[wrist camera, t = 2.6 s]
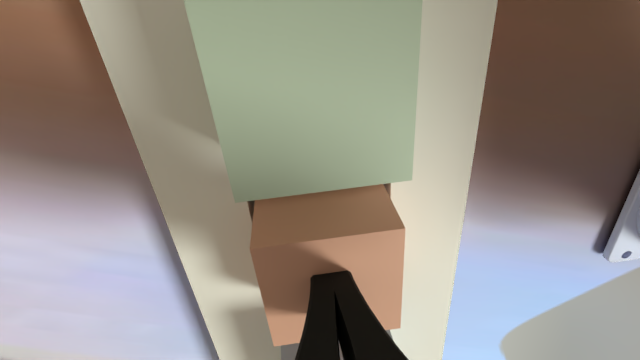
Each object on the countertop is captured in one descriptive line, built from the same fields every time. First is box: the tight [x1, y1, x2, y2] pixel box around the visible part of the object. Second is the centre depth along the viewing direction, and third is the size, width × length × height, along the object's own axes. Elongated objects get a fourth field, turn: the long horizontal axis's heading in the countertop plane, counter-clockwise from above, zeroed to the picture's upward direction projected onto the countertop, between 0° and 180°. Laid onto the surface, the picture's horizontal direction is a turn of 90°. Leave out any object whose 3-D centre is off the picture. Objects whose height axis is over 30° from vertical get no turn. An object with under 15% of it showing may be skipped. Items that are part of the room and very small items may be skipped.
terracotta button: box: [250, 184, 406, 347], centre depth 14 cm, size 5×5×3 cm
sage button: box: [184, 0, 423, 203], centre depth 10 cm, size 5×5×3 cm
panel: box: [80, 0, 498, 360], centre depth 15 cm, size 12×23×2 cm, turn 5°
